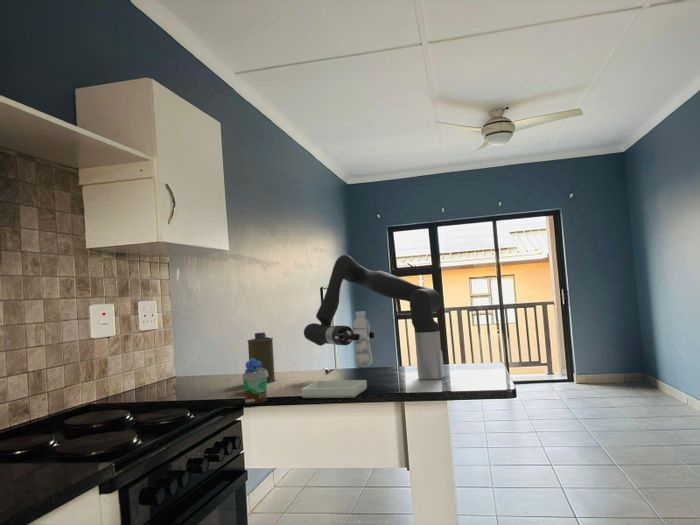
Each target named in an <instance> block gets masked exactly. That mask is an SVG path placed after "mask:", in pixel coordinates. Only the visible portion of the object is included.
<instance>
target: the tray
mask: <svg viewBox="0 0 700 525" xmlns="http://www.w3.org/2000/svg"><path fill="white" fill-rule="evenodd" d="M366 390H368V383H367V379H352V380H351V379H349V380H347V379H345V380H338V379H337V380H317V381H315V382H312V383H311V384H308V385H306V386H305V387H302V388H301V398H302V399H313V398H314V399H318V398H319V399H323V398H324V399H329V398H330V399H331V398H332V399H334V398H335V399H337V398H338V399H342V398H343V399H345V398H346V399H351V398H354V399H355V398H356V397H357V396H358V395H360V394H362V393H363V392H365V391H366Z"/></svg>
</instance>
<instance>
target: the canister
mask: <svg viewBox="0 0 700 525" xmlns="http://www.w3.org/2000/svg"><path fill="white" fill-rule="evenodd" d="M273 340H274V338H273V337H269V336H267V335H266V333H265V332H256V333H254V338H252V339H247V345H248V361H250V359H251V358H254V359H255V360H256V361H257V360H258V361H260V362H261V364H262V366H261V367H262V368H264V369H266V370H267V372H268V375H269V376H268V377H267V384H271V383H274V382H275V381H276V378H275V361H274V360H275V359H274V347H273V346H274V343H273Z"/></svg>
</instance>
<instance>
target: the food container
mask: <svg viewBox="0 0 700 525" xmlns="http://www.w3.org/2000/svg"><path fill="white" fill-rule="evenodd" d="M268 376H269V375H268V372H267V370H266V369H256V371H255V372H251V373H249V374H245V373H242V382H243V383H242V384H243V391H244V404H245V406H248V405H256V404H261V403H265V402H267V384H268V383H267V377H268Z"/></svg>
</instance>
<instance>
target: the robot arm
mask: <svg viewBox="0 0 700 525" xmlns="http://www.w3.org/2000/svg"><path fill="white" fill-rule="evenodd" d="M344 280H345V281H346V282H349V283H352V284H357V285H360V286H363V287H365V288H366V289H368V290H371V292H374V293H376V294H378V295H381V296H383V297H386V298H390V299H394V300H400V301H406V302H408V303H409V311H410V319H411V324H412V327H413V328H414V339H415V352H416V365H417V366H416V367H417V375H418V376H417V377H418V379H419V380H439V379H440V380H441V379H443V378H444V377H445V372H444V371H445V370H444V359H443V357H444V356H443V351H442V347H441V333H440V325H439V323H438V322H437V321H435V320H434V318H433V313H434V312H436V311H438V310H439V309H441V307H442V305H443V304H442V303H443V301H442V297H441V295H440V293H439V292H438V291H436V290H435V289H433V288H430V287H429V288H428V287H425V286H422V285H421V286H420V285H417V284H414V283H412V282H410V281H408V280H405V279H403V278H401V277H399V276H396V275H394V274H391V273H388V272H386V271H383V270H371V269H368V268H366V267H364V266H362V265H361V264H360V263H358V262H357V261H356V260H355V259H354V258H353V257H351V256H350V255H349V254H343V255H340V256H339V257H338V258H337V259H336V261H335V262H334V265H333V268H332V271H331V274H330V278H329V281H328V285H327V288H326V291H325V295H324V297H323V299H322V302H321V304H320V306H319V308H318V310H317V313H316V314H315V317H316V319H317V320H318V321H319V323H316V322H315V323H313V322H311V323H309V324H307V325H306V326H305V328H304V329H303V336H304V338H305V339H306V340H308V341H310V342H312V343H313V344H315V345H317V346H323V345H325V344H327V345H329V344H330V345H334V346H349V345H350V344H351V343H352V342H355V340H359V334H354V332H353V328H351V326H348V325H332V322H333V319H334V317H335V315H336V313H337V310H338V308H339V304H340V297H341V296H340V294H341V286H342V283H343V281H344ZM369 338H370V339H374V338H375V333H374V331H371V330H370V334H369Z"/></svg>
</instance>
